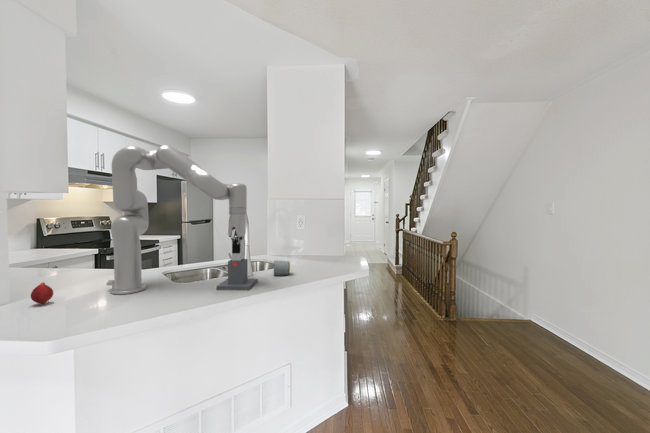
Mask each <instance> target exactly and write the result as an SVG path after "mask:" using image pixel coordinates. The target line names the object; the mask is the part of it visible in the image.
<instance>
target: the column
mask: <svg viewBox="0 0 650 433" xmlns="http://www.w3.org/2000/svg"><path fill="white" fill-rule="evenodd" d="M239 244H240V253H232V252H231V260H232V261H243V260H244V259H245V246H244V245H245V240H244V238H243V239H239Z"/></svg>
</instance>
